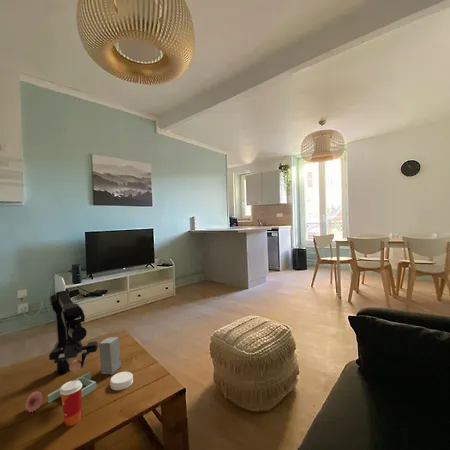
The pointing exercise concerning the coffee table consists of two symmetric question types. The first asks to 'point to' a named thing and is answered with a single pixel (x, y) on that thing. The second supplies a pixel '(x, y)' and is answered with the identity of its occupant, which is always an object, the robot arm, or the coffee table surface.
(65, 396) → the paper cup
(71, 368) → the ball
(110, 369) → the skincare box
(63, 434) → the coffee table surface
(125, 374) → the coaster
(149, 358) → the coffee table surface
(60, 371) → the robot arm
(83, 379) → the sage green shelf frame
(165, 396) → the coffee table surface
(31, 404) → the flower
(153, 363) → the coffee table surface
